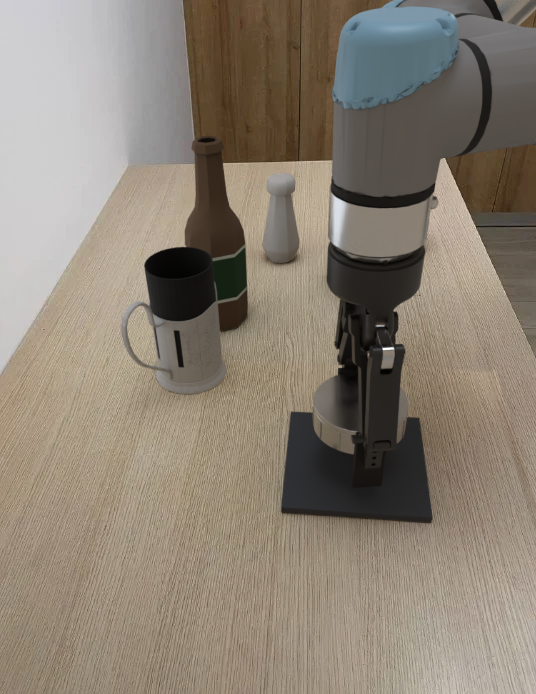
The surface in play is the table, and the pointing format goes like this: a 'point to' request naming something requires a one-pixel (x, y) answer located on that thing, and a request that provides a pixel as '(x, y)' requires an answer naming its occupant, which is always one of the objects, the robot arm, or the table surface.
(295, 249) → the salt shaker
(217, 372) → the glass holder
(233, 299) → the beer bottle
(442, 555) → the table surface
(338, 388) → the flask lid
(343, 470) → the mat
